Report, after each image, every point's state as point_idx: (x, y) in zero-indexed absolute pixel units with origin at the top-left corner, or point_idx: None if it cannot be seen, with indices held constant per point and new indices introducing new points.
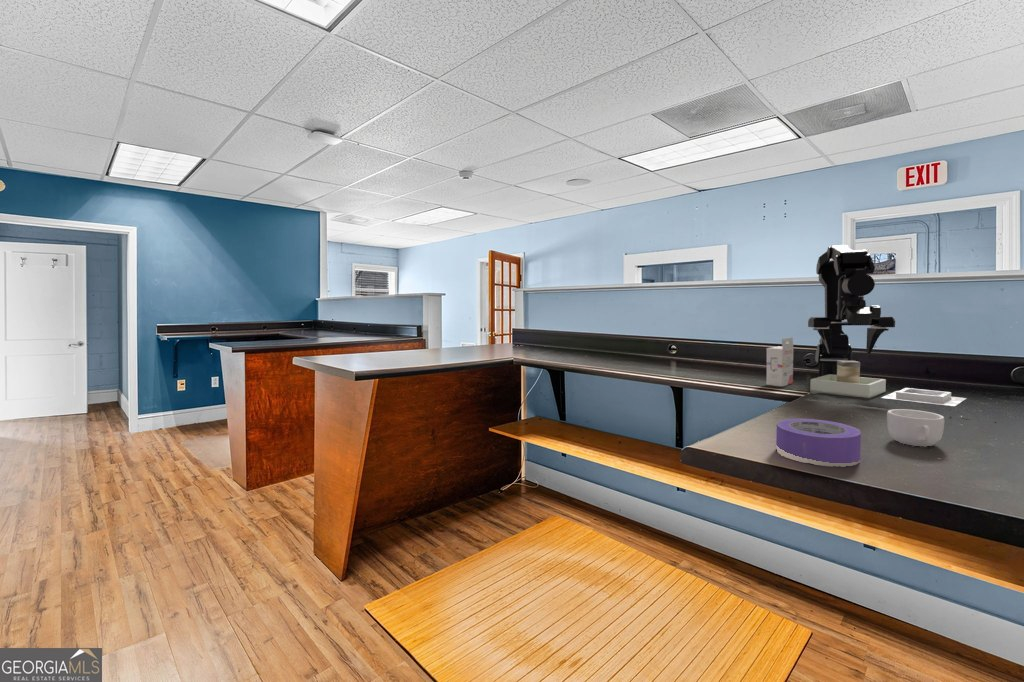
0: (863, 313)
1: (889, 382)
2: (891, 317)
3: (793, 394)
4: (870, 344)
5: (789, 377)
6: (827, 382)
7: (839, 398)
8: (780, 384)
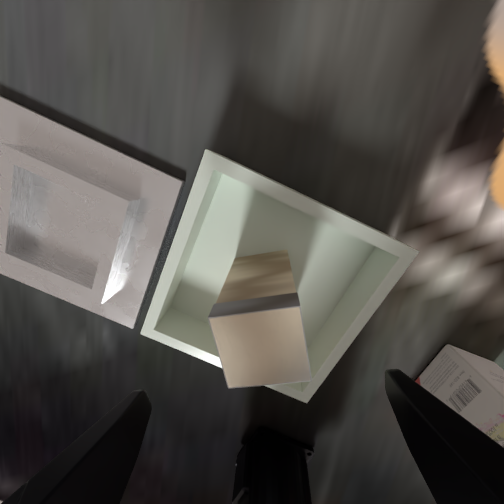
0: None
1: (142, 470)
2: None
3: (459, 189)
4: (86, 455)
5: None
6: (354, 220)
7: (309, 161)
8: (458, 349)
